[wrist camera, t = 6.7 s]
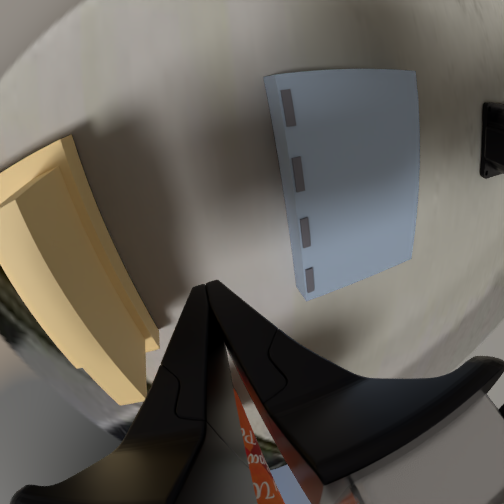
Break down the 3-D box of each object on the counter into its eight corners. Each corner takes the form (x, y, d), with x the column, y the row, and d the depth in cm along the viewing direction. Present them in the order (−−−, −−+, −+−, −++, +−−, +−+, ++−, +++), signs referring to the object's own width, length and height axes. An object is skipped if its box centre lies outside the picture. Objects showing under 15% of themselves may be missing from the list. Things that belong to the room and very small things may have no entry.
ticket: (397, 70, 12) (416, 71, 11) (398, 248, 19) (412, 259, 17) (263, 76, 11) (275, 74, 10) (296, 286, 18) (307, 302, 16)
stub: (71, 134, 10) (13, 161, 5) (158, 330, 16) (164, 408, 12) (-18, 185, 9) (-80, 234, 5) (79, 351, 16) (69, 422, 11)
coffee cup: (269, 385, 23) (337, 542, 10) (211, 427, 24) (251, 562, 12) (187, 357, 18) (244, 578, 6) (133, 408, 20) (159, 576, 8)
